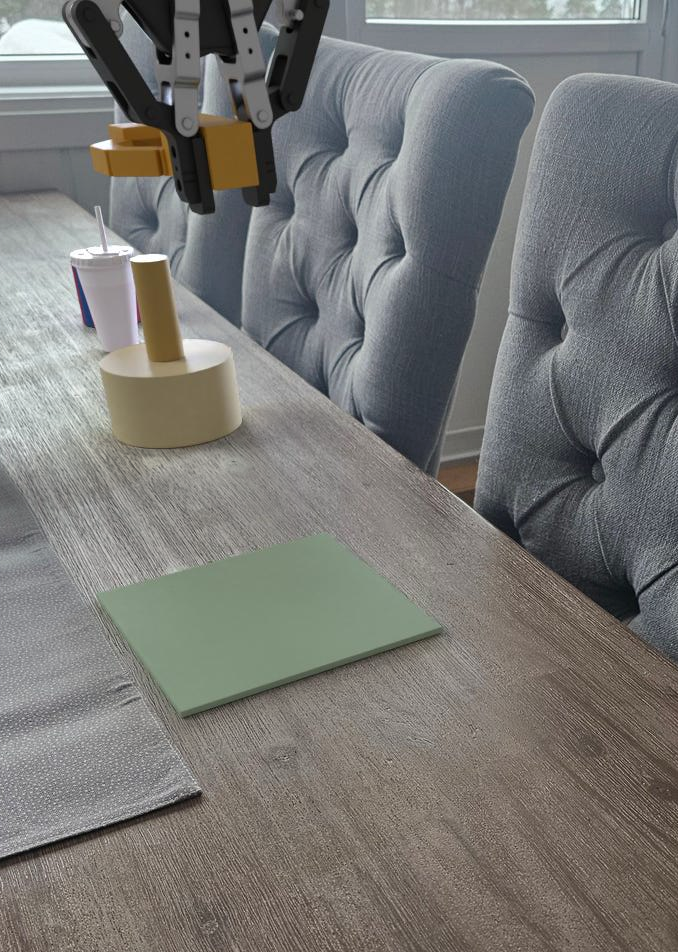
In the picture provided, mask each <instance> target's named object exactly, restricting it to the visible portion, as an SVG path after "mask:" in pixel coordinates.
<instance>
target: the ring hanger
mask: <svg viewBox="0 0 678 952" xmlns="http://www.w3.org/2000/svg"><path fill="white" fill-rule="evenodd" d="M198 113H199V128H198V135H199V136H201V137H205V144H206V151H207V157H208V164H209V170H210V177H211V184H212V189H213V191H216V192H217V191H225V190H233V189H241V188H242V187H249V186H257V185H259V179H258V171H257V163H256V156H255V148H254V140H253V133H252V125H251V123H250V122H245V121H239V120H236V119H235V118H228V117H223V116H218V115H213V114H208V113H203V112H202V113H201V112H198ZM107 129H108V136H109V139H107V140H103V141H99V142H96V143H93V144H90V145H89V150H90V155H91V160H92V165H93V169H94V172H95V173H99V174H102V175H103V176H104V175H105V176H107V177H110V178H111V177H114V178H159V177H163V176H164V177H172V178H174V177H173V170H172V165H171V159H170V153H169V147H168V142H167V139H166V137H165V135H164V134H163V133H162V132H161V131H160V130H159V129H156V128H153V127H150V126H146V125H143V124H137V123H133V122H131V121H129V122H122V123H121V122H120V123H109V124H107Z"/></svg>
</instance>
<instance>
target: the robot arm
mask: <svg viewBox="0 0 678 952" xmlns="http://www.w3.org/2000/svg"><path fill="white" fill-rule="evenodd" d="M273 1H274V2H275V19H276V22H277V24H278V25H279V26H280V30H279V33H278V37H277V41H276V43H275V48H274V51H273V56H272V59H271V62H270V66H269V70H268V73H267V69H266V68H267V67H266V63H265V60H264V59H265V58H264V54H263V50H262V45H261V41H260V37H259V32H260V30H261V28H262V26H263V23H264V21H265V19H266V16H267V14H268V12H269V10H270V8H271V5H272V3H273ZM121 5H122V7H123V9H124V10H125V11H126V12H127V13H128V15H130V17H131V18H132V19H133V21H134V22H135V23H136V25H137V26H138V27H139V28H140V29H141V30H142V32H143V33H144V35H146V37H147V38H148V39H149V40H150V41H151V45H152V46H151V47H152V60H153V61H152V64H153V75H154V79H155V81H156V83H157V84H156V85H157V95H158V97H157V98H158V99H157V98H156V97H155V95H154V93H153V92H152V90H151V89H150V87H149V86H148V84H147V83H146V81H145V80H144V77H143V76H142V74H141V72H140V71H139V70H138V68H137V66H136V65H135V63H134V61H133V60H132V59H131V56H130V55H129V53H128V52H127V50H126V49H125V47H124V45H123V44H122V42H121V41H120V38H122V35H123V34H124V24H123V21H122V19H121V16H120V15H121V14H120V6H121ZM330 6H331V1H330V0H67V1H65V2H64V4H62V7H61V17H62V20H63V22H64V23H65V25H66V27H67V28H68V30H69V31H70V33H71V34H72V36H73V37H74V39H75V40H76V42H77V43H78V45H79V47H80V48H81V49H82V51H83V52H84V53H83V54H85V56H86V57H87V59H88V60H89V62H90V63H91V66H92V67H93V68H94V70H95V71H96V73H97V74H98V76H99V78H100V80H101V81H102V82H103V84H104V85H105V87H106V89H107V90H108V91H109V93H110V95H111V96H112V98H113V100H114V101H115V102H116V104H117V105H118V108H119V109H120V110H121V111H122V113H123V115H124V116H125V118H126V119H127V120H128V121H129V122H133V123H137V124H143V125H146V126H150V127H153V128H156V129H159V130H160V131H161V132H162V133H163V134H164V135H165V137H166V139H167V142H168V147H169V153H170V159H171V165H172V170H173V177H172V178H173V182H174V188H175V193H176V194H177V196H178V198H179V200H180V201H181V202H182V203H185V204H188V207H189V209H190V211H191V212H192V213H194V214H197V215H199V216H205V215H213V214H215V213H216V202H215V195H214V190H213V189H212V184H211V177H210V170H209V164H208V157H207V151H206V144H205V137H201V136H199V135H198V128H199V113H200V112H199V85H200V83H201V80H202V79H201V75H202V74H201V73H202V72H201V58H203V57H206V56H208V55H210V54H212V55H214V57H215V61H216V64H217V68H218V71H219V74H220V76H221V78H222V79H223V80H224V83H225V86H226V90H227V94H228V99H229V102H230V106H231V110H232V114H233V118H234V120H239V121H245V122H250V123H251V125H252V133H253V140H254V148H255V156H256V163H257V171H258V179H259V185H257V186H249V187H242V188H240V189H241V195H242V199H243V201H244V203H245V205H247V206H250V207H254V208H262V207H268V206H270V204H271V194H275V193H276V191H277V187H278V177H277V171H276V169H277V168H276V163H275V162H276V161H275V151H274V144H273V136H272V130H273V126H274V123H275V122H277V120H278V119H280V118H282V117H283V116H285V115H287V114H288V113H293V112H294V113H295V112H297V111H299V110H300V109H301V107H302V105H303V102H304V99H305V95H306V91H307V88H308V84H309V81H310V77H311V74H312V70H313V67H314V63H315V60H316V55H317V53H318V49H319V45H320V42H321V39H322V35H323V31H324V27H325V25H326V24H325V23H326V20H327V17H328V14H329V10H330ZM266 75H267V77H266ZM265 77H266V79H265Z"/></svg>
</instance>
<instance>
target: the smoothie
mask: <svg viewBox="0 0 678 952" xmlns="http://www.w3.org/2000/svg"><path fill="white" fill-rule="evenodd" d="M93 208H94V214H95V218H96V223H97V229H98V234H99V238H100V239H99V240H100V243H101V245H98V246H90V247H85V248H81V249H77V250H74V251H73V252H71V253H70V255H69V256H70V261H72V263H71V262H70V266H71V265H72V266H74V267H76V270H77V273H78V276H79V279H80V283H81V285H82V288H83V291H84V294H85V297H86V300H87V303H88V306H89V309H90V312H91V315H92V318H93V321H94V324H95V327H94V328H95V330H96V333H97V336H98V339H99V342H100V345H101V348H102V351H104V352H106V353H111V352H114V351H116V350H118V349H121V348H124V347H128V346H131V345H135V344H140V343H139V328H138V327H139V326H138V322H137V310H136V294H135V284H134V279H133V274H132V268H131V263H130V259H131V258H133V257H136V253H135V249H134V248H133V247H131V246H127V245H113V244H112V245H111V244H110V245H108V242H107V235H106V230H105V225H104V220H103V214H102V210H101V206H100V205H95V206H93Z"/></svg>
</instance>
